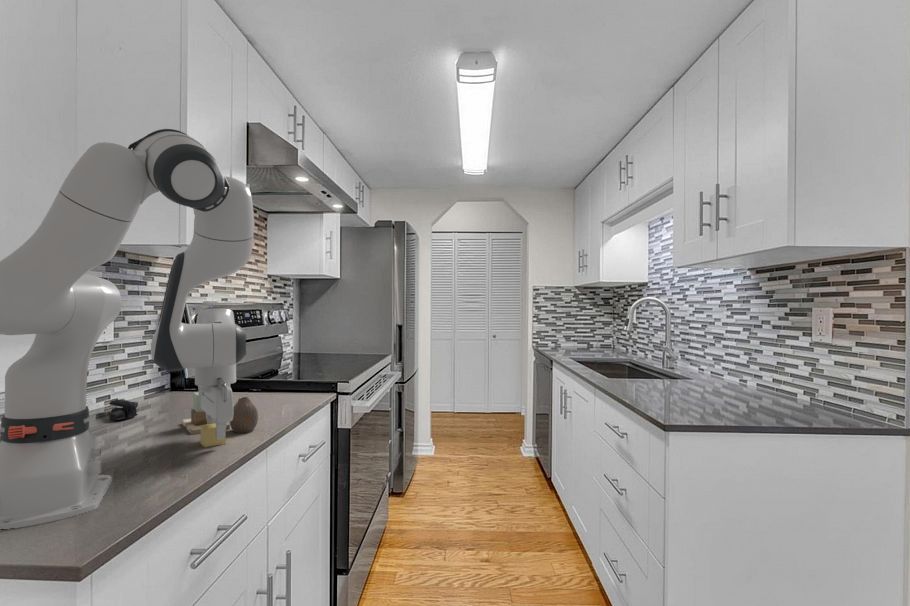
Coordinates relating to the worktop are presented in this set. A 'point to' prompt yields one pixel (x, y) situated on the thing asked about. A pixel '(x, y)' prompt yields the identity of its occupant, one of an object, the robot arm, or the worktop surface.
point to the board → (193, 428)
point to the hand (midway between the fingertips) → (216, 434)
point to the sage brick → (196, 402)
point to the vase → (244, 416)
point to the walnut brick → (198, 418)
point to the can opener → (123, 409)
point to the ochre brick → (210, 436)
